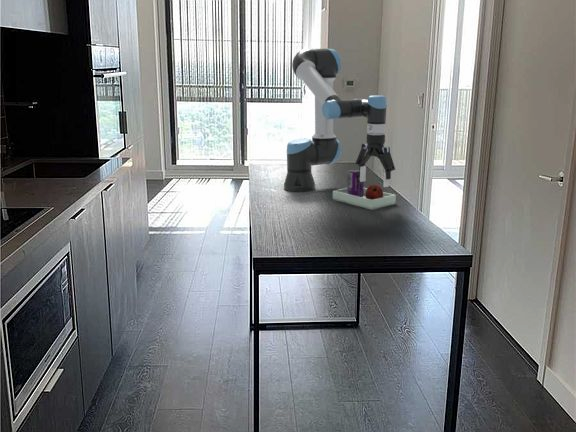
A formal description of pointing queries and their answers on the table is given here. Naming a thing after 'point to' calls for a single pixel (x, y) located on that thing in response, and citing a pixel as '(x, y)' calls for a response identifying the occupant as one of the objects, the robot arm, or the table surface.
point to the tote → (364, 199)
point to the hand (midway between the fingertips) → (374, 184)
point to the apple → (374, 192)
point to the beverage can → (355, 183)
